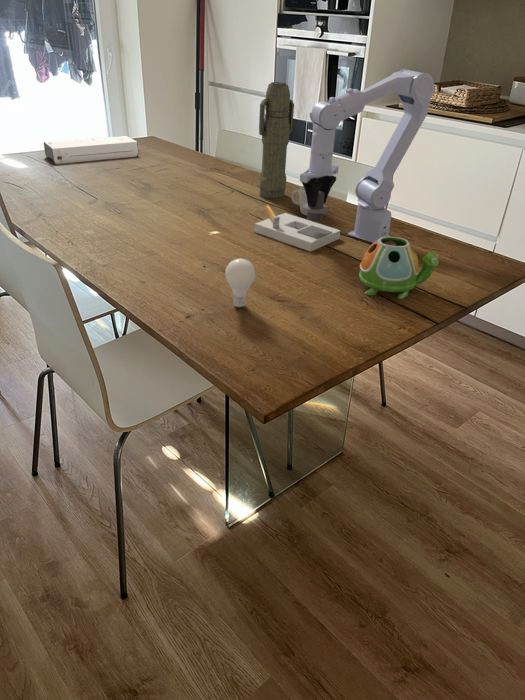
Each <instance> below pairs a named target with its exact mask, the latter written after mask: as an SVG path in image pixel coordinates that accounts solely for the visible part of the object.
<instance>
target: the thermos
mask: <svg viewBox="0 0 525 700" xmlns="http://www.w3.org/2000/svg"><path fill="white" fill-rule="evenodd" d="M294 114H295V103H294V100H293V99H291V93H290V88H289V85H288V84H287V83H286V82H281V81H280V82H279V81H272V82H271V83H269V84H268V86H267V89H266V92H265V98H264V99H262V100H261V102H260V104H259V120H258V121H259V123H258V135H260V136H261V142H262V160H261V162H262V163H261V171H260V174H259V197H261V198H262V199H266V200H282V199H284V198H285V196H286V195H285V194H286V193H285V192H286V189H287V175H286V167H287V165H286V163H287V151H288V150H287V149H288V145H289V141H290V134H291V133H292V132H293V129H294V128H293V126H294Z"/></svg>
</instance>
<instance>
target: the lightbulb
mask: <svg viewBox="0 0 525 700" xmlns="http://www.w3.org/2000/svg"><path fill="white" fill-rule="evenodd" d="M224 275H225V276H224V277H225V280H226V282H227V283H228V285H229V286H230V288H231V293H232V295H233V301H232V302H233V306H235V307H237V308H240V309H241V308H244V307H245V306H246V304H247V303H246V300H247V294H248V290H249V289H250V287H251V285H253V283H254V281H255V279H256V269H255V266H254V265H253V263H252V262H251V261H250V260H248V259H246V258H242V257H241V258H235V259H233V260H231V261H230V262H229V263H228V264H227V266H226V268H225V272H224Z"/></svg>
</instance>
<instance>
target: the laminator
mask: <svg viewBox="0 0 525 700" xmlns="http://www.w3.org/2000/svg"><path fill="white" fill-rule="evenodd" d="M138 143H139V142H138V141H137V140H135V138H132V137H131V136H128V135H124V136H123V135H121V136H109V137H108V136H107V137H97V138H96V137H95V138H81V139H71V140H70V139H69V140H56V141H55V140H54V141H44V142H43V147H44V155H45V157H46V158H48V159H49V160H50V161H52V162H53V163H54V164H55V165H60V164H71V163H80V162H91V161H93V162H94V161H101V160H103V161H104V160H112V159H123V158H125V159H126V158H135V157H138V156H139V144H138Z"/></svg>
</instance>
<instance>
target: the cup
mask: <svg viewBox="0 0 525 700" xmlns="http://www.w3.org/2000/svg"><path fill="white" fill-rule="evenodd" d="M296 194H298V197H299V200H296V198H295V196H296ZM291 201H292V203H293V204H294V205H297V206H299V210H300V213H301V214H302V215H303V216H306V217H307V213H308V212H307V211H305V210H304V209H303V205H304V204H307V203H308V202H307V196H306V192H305V189H304V186H303V185H302V186H300V188H299V189H294V190H293V191H292V192H291Z"/></svg>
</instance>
